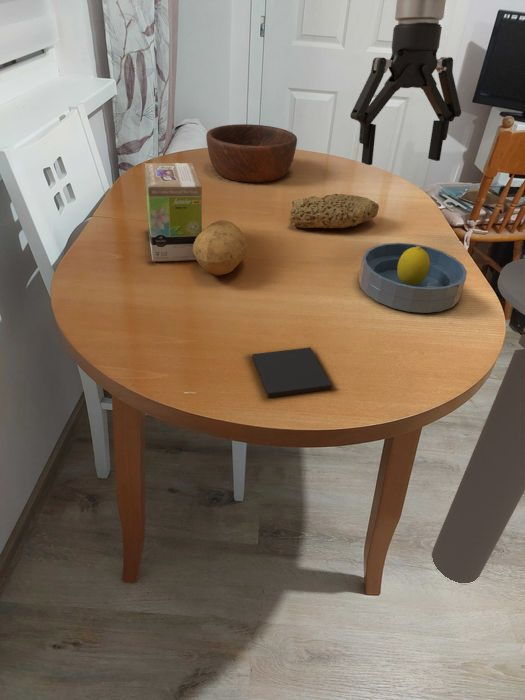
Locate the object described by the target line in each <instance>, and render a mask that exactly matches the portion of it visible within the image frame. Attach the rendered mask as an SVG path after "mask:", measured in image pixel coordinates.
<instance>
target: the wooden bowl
mask: <svg viewBox="0 0 525 700" xmlns="http://www.w3.org/2000/svg"><path fill="white" fill-rule="evenodd" d="M205 136H206V137H205V138H206V146H207V152H208V156H209V160H210V163H211V165H212V168H213V169H214V171H215V173H216V174H218V175H219V176H221V177H223V178H225V179H228V180H232V181H236V182H241V183H268V182H273V181H277V180H280V179H281V178H283V177H284V176H286V174H287V173H288V171H290V168H291V166H292V163H293V161H294V157H295V154H296V150H297V145H298V138H297V135H295V133H293V132H291V131H289V130H288V129H284V128H280V127H276V126H270V125H263V124H249V123H248V124H247V123H246V124H245V123H244V124H243V123H241V124H228V125H220V126H216V127H214V128H211V129H210V130H208V131H207V132H206V135H205Z"/></svg>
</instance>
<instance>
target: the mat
mask: <svg viewBox="0 0 525 700" xmlns="http://www.w3.org/2000/svg"><path fill="white" fill-rule="evenodd" d="M251 358H252V360H253V363H254V365H255V368H256V370H257V374H258V376H259V379H260V381H261V383H262V386H263V388H264V390H265V393H266V396H267V398H269V399H270V398H276V397H283V396H290V395H297V394H306V393H312V392H320V391H327V390H331V389H332V387H333V386H332V383H331V381H330V379H329V377H328V375H327V374H326V372H325V370H324V368H323V367H322V364H321V363H320V361H319V360H318V358H317V356H316V354H315V353H314V351H313V349H312V348H311V347H302V348H295V349H293V348H292V349H286V350H285V349H284V350H277V351H276V350H275V351H269V352H268V351H267V352H260V353H259V352H257V353H253V354H252V357H251Z"/></svg>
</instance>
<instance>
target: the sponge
mask: <svg viewBox="0 0 525 700" xmlns="http://www.w3.org/2000/svg"><path fill="white" fill-rule="evenodd" d="M291 204H292V206H291V207H290V214H289V216H290V222H291V225H292V227H295V228H305V229H316V228H317V229H319V228H320V229H346V228H349V227H350V228H351V227H355V226H357V225H359V224H362V223H366V222H369V221H372V220H373V219H374V218H375V217H377V215H378V214H379V208H380V206H379V203H377V202H375V200H372V199H370V198H368V197H365V196H360V195H354V194H346V193H345V194H344V193H332V194H327V195H324V196H320V197H317V196H316V195H315V196H313V195H312V196H308V197H306V198H299V199H294V200H292V202H291Z"/></svg>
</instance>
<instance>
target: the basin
mask: <svg viewBox="0 0 525 700" xmlns="http://www.w3.org/2000/svg"><path fill="white" fill-rule="evenodd" d="M416 246H419V247H420V248H422V249H423V250H425V251H426V252H427V254H428V256H429V259H430V267H429V272H428V275H427V277H426V278H425V279H424V280H423V281H422V282H421V283H420V284H418V285H413V286H410V285H406V284H404V283H403V282H402V281H401V280H400V279H399V277H398V274H397V267H398V262H399V259H400V257H401V256H402V254H403V253H404V252H405V251H406V250H408V249H409V248H412V247H416ZM467 273H468V271H467V269H466V267H465V266H464V263H462V262H461V261H459V260H458V259H457V258H456V257H454V256H452V255H451V254H449V253H446V252H445V251H443V250H441V249H437V248H433V247H430V246H428V245H421V244H416V243H406V242H389V243H381V244H378V245H375V246H372V247H370V248H369V249H367V250H366V251H365V252H364V254H363V256H362V258H361V263H360V270H359V275H358V283H359V287H360V289H361V290H362V291H363V292H364V293H365V295H367V296H368V297H369V298H371V299H372V300H374V301H375V302H377V303H379V304H381V305H384V306H387V307H388V308H392V309H396V310H399V311H400V310H401V311H405V312H410V313H422V314H423V313H424V314H427V313H439V312H443V311H446V310H448V309H451V308H453V307H454V306H455V305H456V304H458V303H459V302H460V298H461V295H462V293H463V289H464V286H465V283H466V279H467Z"/></svg>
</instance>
